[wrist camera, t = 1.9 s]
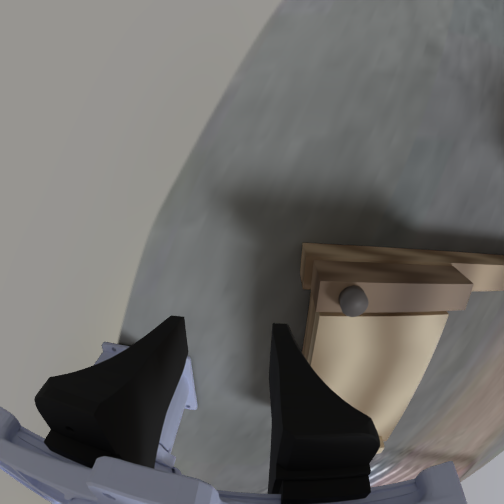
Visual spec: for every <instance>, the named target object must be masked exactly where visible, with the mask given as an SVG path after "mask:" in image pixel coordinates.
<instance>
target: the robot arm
mask: <svg viewBox="0 0 504 504" xmlns="http://www.w3.org/2000/svg"><path fill="white" fill-rule="evenodd" d="M102 348H103V353H102V354H101V355H100V357H99V358H98V360H97V361H96V363H95V364H94V365H93V366H91V367H88V368H85V369H82V370H79V371H76V372H72V373H68V374H64V375H59V376H55V377H50V378H49V379H48V380H47V382H46V383H45V384H44V385H43V387H42V388H41V389H40V391H39V392H38V393H37V395H36V396H35V404H36V407H37V409H38V411H39V412H40V414H41V415H42V417H43V418H44V420H45V421H46V423H47V424H48V426H49V427H50V429H51V430H50V432H49V434H48V435H47V437H46V439H45V438H42V437H40V436H39V435H37V434H35V433H33V432H31V431H29V430H28V429H26V428H24V427H22V426H21V425H20V423H19V421H18V420H17V419H16V418H15V416H14V415H12V414H11V413H10V412H8V411H7V410H5V409H3V408H2V407H0V468H1V469H2V470H3V471H4V472H6V473H7V474H9V475H10V476H11V477H13V478H14V479H16V480H17V481H19V482H20V483H22V484H23V485H25V486H26V487H27V488H29V489H30V490H32V491H33V492H35V493H37V494H38V495H40V496H41V497H43V498H45V499H46V500H48V501H49V502H51V504H467V502H466V499H465V496H464V492H463V489H462V486H461V483H460V480H459V477H458V474H457V472H456V469H455V466H454V463H453V461H449V462H445V463H442V464H439V465H435V466H432V467H429V468H426V469H425V470H423V471H422V472H420V473H419V474H418V476H417V477H416V478H415V479H411V480H407V481H403V482H398V483H393V484H388V485H383V486H378V487H372V488H370V482H369V477H368V475H369V474H370V472H371V470H370V465H369V463H370V462H371V460H372V459H373V457H374V456H375V454H376V453H377V452H378V450H379V448H380V439H379V435H378V432H377V430H376V427H375V425H374V423H373V421H372V419H371V417H369V416H367V415H366V414H364V413H362V412H361V411H359V410H357V409H356V408H354V407H352V406H351V405H350V404H348V403H347V402H346V401H344V400H343V399H342V398H341V397H339V396H338V395H337V394H336V393H335V392H334V391H333V390H331V389H330V388H329V387H328V386H327V385H326V384H325V383H324V381H323V380H322V379H321V378H320V377H319V376H318V375H317V373H316V372H315V371H314V370H313V368H312V367H311V366H310V364H309V363H308V361H307V360H306V358H305V357H304V355H303V354H302V352H301V350H300V349H299V347H298V345H297V343H296V341H295V339H294V337H293V335H292V333H291V330H290V328H289V326H288V325H287V324H275V323H273V327H272V340H271V352H270V369H269V384H270V399H271V414H272V434H271V453H270V469H269V484H268V494H257V493H242V492H231V491H221V490H215V489H214V487H213V486H212V485H211V484H209V483H206V482H204V481H202V480H200V479H197V478H193V477H189V476H185V475H182V474H181V472H180V470H179V469H178V468H175V467H173V466H174V463H175V459H176V457H175V456H173V455H171V454H170V453H171V450H172V447H173V444H174V440H175V437H176V434H177V430H178V427H179V424H180V421H181V417H182V414H183V411H184V408H185V409H192V410H195V409H197V406H198V405H197V399H196V392H195V386H194V379H193V372H192V365H191V359H190V357H189V356H187V355H188V346H187V338H186V329H185V320H184V317H180V316H170V317H169V318H167V319H166V320H165V321H164V322H162V323H161V324H160V325H159V326H157V327H156V328H155V329H154V330H152V331H151V332H150V333H148V334H147V335H146V336H145V337H143V338H142V339H140V340H139V341H137V342H136V343H135V344H133V345H132V346H125V345H119V344H114V343H109V342H104V343H103V344H102Z"/></svg>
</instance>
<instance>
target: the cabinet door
mask: <svg viewBox="0 0 504 504" xmlns="http://www.w3.org/2000/svg"><path fill="white" fill-rule="evenodd" d="M473 285H474V284H473V283H472V282H471V281H470V280H469V279H468V278H467V277H465V276H464V275H463V274H462V273H461V272H460V271H459V270H457V269H456V268H455V267H454V266H439V265H414V264H391V263H368V262H346V261H324V260H314V264H313V272H312V281H311V292H312V296H313V300H314V305H315V310H316V312H343V313H344V314H345V315H346V316H349V317H356V316H359V315H361V314H362V313H377V312H430V311H454V310H465V309H466V306H467V303H468V300H469V297H470V294H471V291H472V288H473Z"/></svg>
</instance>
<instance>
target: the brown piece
mask: <svg viewBox="0 0 504 504" xmlns="http://www.w3.org/2000/svg"><path fill="white" fill-rule="evenodd" d="M314 260H324V261H346V262H368V263H391V264H414V265H439V266H454V267H455V268H456V269H457V270H459V271H460V272H461V273H462V274H463V275H464V276H465V277H467V278H468V279H469V280H470V281H471V282H472V283H473V284H474V285H473V288H472V291H504V255H493V254H480V253H466V252H451V251H436V250H421V249H405V248H389V247H372V246H354V245H337V244H318V243H303V245H302V256H301V267H300V276H301V282H302V287H303V289H307V290H311V281H312V272H313V264H314ZM315 313H316V310H315V305H314V300H313V296H312V292H311V294H310V301H309V309H308V316H307V323H306V330H305V336H304V343H303V349H302V354H303V355H304V357H305V358H306V360H308V355H309V349H310V343H311V337H312V331H313V325H314V319H315Z"/></svg>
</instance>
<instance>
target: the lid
mask: <svg viewBox="0 0 504 504" xmlns="http://www.w3.org/2000/svg"><path fill="white" fill-rule="evenodd" d="M448 315H449V314H448V313H447V311H430V312H377V313H362V314H361V315H359V316H356V317H349V316H346V315H345V314H344V313H343V312H316V313H315V319H314V325H313V331H312V337H311V343H310V349H309V355H308V360H307V361H308V363H309V364H310V366H311V367H312V368H313V370H314V371H315V372H316V373H317V375H318V376H319V377H320V378H321V379H322V380H323V381H324V383H325V384H326V385H327V386H328V387H329V388H330V389H331V390H333V391H334V392H335V393H336V394H337V395H338V396H339V397H341V398H342V399H343V400H344V401H346V402H347V403H348V404H350V405H351V406H352V407H354V408H356V409H357V410H359V411H361V412H362V413H364V414H366V415H367V416H369V417H371V419H372V421H373V423H374V425H375V427H376V430H377V432H378V435H379V439H380V448H379V450H378V452H377V453H376V454H378V453H381V452H382V450H383V449H384V443H383V441H387V439H388V438H389V436H390V435H391V433H392V431H393V430H394V428H395V426H396V425H397V423H398V421H399V420H400V418H401V416H402V415H403V413H404V411H405V409H406V408H407V406H408V404H409V402H410V400H411V398H412V397H413V395H414V393H415V391H416V389H417V387H418V385H419V383H420V381H421V379H422V377H423V375H424V373H425V371H426V369H427V366H428V364H429V362H430V360H431V358H432V355H433V353H434V351H435V348H436V346H437V344H438V341H439V339H440V336H441V334H442V331H443V329H444V326H445V323H446V321H447V318H448Z"/></svg>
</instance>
